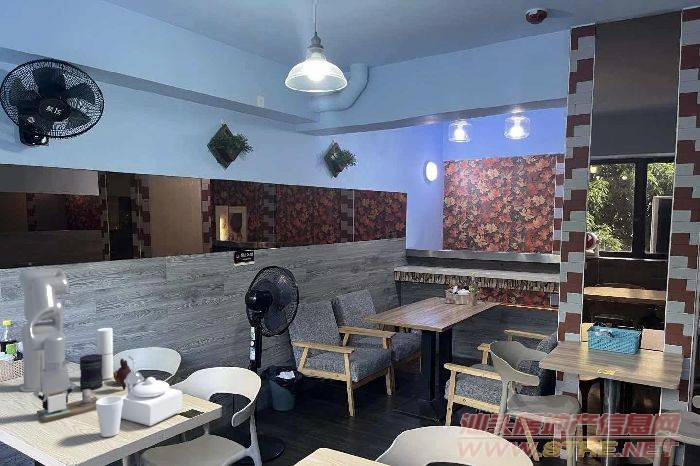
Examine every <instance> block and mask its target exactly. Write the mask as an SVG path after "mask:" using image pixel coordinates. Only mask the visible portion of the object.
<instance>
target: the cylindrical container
mask: <svg viewBox="0 0 700 466" xmlns="http://www.w3.org/2000/svg"><path fill="white" fill-rule="evenodd" d="M96 331H97V332H96V333H97V334H96V335H97V337H96V339H97V340H96V341H97V342H96V343H97V345H96V346H97V351H96V352H97V354H100V355H102V365H103V366H102V376H103V377H102V378H103V380H109V379H111V378H114V375H113V373H114V344H113V343H114V340H113V339H114V336H113V331H114V329H113V328H112V327H101V328H98V329H97V330H96Z"/></svg>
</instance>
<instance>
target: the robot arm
mask: <svg viewBox="0 0 700 466" xmlns="http://www.w3.org/2000/svg"><path fill="white" fill-rule="evenodd" d="M18 280H19V281H18V282H19V285H20V287H21V288H22V291H23V295H24V298H23V299H24V301H23V302H24V303H23V305H24V306H23V308H24V309H23V312H24V313H23V314H24V318H25V320H26V321H27V323H26V324H24V325H23V326H22V327H21V328H20V331H19V334H20V339H21V344H22V345H21V346H22V361H23V362H22V366H23V368H22V369H23V373H22V374H23V384H22V385H21V386H20V387H19V391H21V392H24V393H32V395H33V396H34V397H36V398H37V399H39V400H41V401H42V410H43V409H45V410H46V411H47V410H48V402H47V397H48V395H49V394H52V393H57V392H61V391H63V392H64V393H65V394H66V406H67V404H68V403H69V398H68V397H69V396H70V394H71V393H72V391H73V390H74V389H75V388H76V387H77V384H75V383H74V382H72V381H71V380H70V376H69V370H68V367H67V365H68V364H70V360H69V359H68V360H67V359H66V335H65V334H64V306H63V302H62V301H61V300H60V299H56V296H60V295H62V296H63V295H67V293H69V291H70V283H69V280H68V277H67V276H66V274H65V272H64V271H63V269H61V268H59V267H57V268H56V267H55V268H52V267H51V268H35V269H26V270H23V271H21V272H20V273H19V275H18ZM46 320H47V321H46ZM40 392H41V393H42V395H41V394H39V393H40Z"/></svg>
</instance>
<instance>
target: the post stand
mask: <svg viewBox="0 0 700 466" xmlns="http://www.w3.org/2000/svg"><path fill="white" fill-rule="evenodd" d="M81 391H82V392H81V393H82V394H81V395H82V396H81V397H82V400H77V401H73V402H68V403H67V406H66V409H62V410H58V411H54V412H50V413H49V412H48V411H46V410H45V409H43V408H42V409H40V410H36V415H37V416H38V417H39V419H40V420H41V421H42V422H43V424H48V423H51V422H52V423H53V422H55V421H59V420H62V419H66V418H71V417H74V416H78V415H82V414H86V413H89V412H94V411H97V410H96V401H97V400H98V399H99V398H98V397H96V396H93V397H91V396H92V395H91V391H92V390H90V389H85V390H81Z"/></svg>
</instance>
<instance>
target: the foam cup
mask: <svg viewBox="0 0 700 466" xmlns="http://www.w3.org/2000/svg"><path fill="white" fill-rule="evenodd" d="M121 396H122V395H108V396H104V397H101V398H97V399H98V400H97V401H96V410H95V411H96V413H97V418H98V423H99V430H100V436H101V437H103V438H107V437H113V436H116V435H118V433H120V427H121V419H122V418H121V413H122V405H123V397H121Z"/></svg>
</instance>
